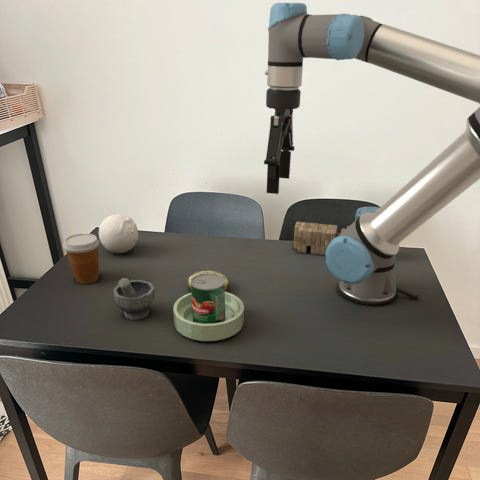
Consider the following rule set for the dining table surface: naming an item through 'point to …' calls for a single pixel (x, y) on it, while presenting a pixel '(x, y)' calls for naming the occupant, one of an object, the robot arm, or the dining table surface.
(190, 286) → the decorated donut
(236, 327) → the bowl
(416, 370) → the dining table surface
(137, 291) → the mortar and pestle
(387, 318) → the dining table surface
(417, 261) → the dining table surface
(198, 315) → the canned tomato
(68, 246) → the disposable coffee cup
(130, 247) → the decorative ball
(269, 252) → the dining table surface
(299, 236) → the block tower
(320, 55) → the robot arm
